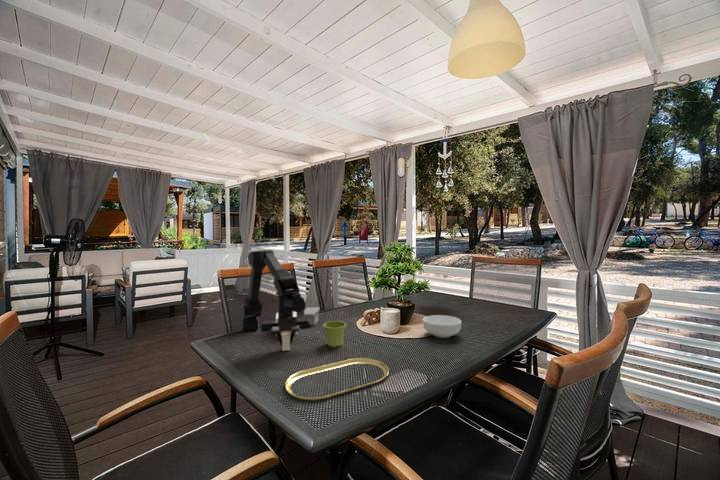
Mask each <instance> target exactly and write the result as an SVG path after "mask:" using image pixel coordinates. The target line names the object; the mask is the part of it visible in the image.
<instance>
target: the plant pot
mask: <svg viewBox="0 0 720 480" xmlns="http://www.w3.org/2000/svg"><path fill="white" fill-rule="evenodd" d="M346 326H347V323H346V322H344V321H342V320H341V321H340V320H331V321H327V322H324V324H323V328H324V330H325V334H326V341H327V345H328V346H329V347H330V348H337V347H341V346H342V345H343V343H344V342H343V340H344V334H345V329H346Z"/></svg>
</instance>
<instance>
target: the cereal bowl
mask: <svg viewBox="0 0 720 480" xmlns="http://www.w3.org/2000/svg"><path fill="white" fill-rule="evenodd" d="M422 324H423V328H424V330H425V331H426V332H427V333H429V334H431V335H433V336H434V337H436V338H440V339H446V338H450V337H451V336H455V335H457V334H458V333H459V332H460V331H461V328H462V320H461V319H460V318H458V317H455V316H452V315H451V316H450V315H444V314H435V315H428V316H425V317H423V319H422Z"/></svg>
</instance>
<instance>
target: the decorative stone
mask: <svg viewBox="0 0 720 480" xmlns="http://www.w3.org/2000/svg"><path fill="white" fill-rule="evenodd" d="M320 309H321V307H313V306H312V307H309V306H308V307H306V308H304V309H303V318H308V319H309V321H310V327H313V326H316V325H317V324H318V322H319V321H320V320H319V318H320V315H319V314H320V313H319V312H320Z"/></svg>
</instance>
